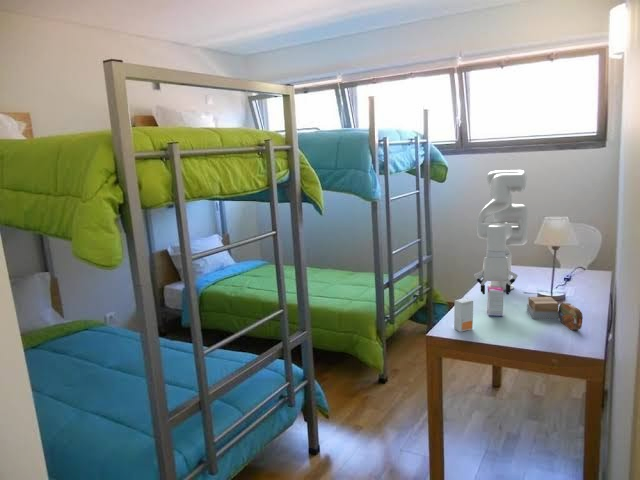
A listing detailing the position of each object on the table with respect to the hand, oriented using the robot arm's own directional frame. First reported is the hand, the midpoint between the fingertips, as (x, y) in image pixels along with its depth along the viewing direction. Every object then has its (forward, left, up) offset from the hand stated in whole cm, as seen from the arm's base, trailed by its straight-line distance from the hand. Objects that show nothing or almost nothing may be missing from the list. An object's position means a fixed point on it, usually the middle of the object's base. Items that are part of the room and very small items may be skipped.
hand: (495, 293), depth 204 cm
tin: (+12, +26, -10) cm, 30 cm away
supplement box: (-1, 0, -10) cm, 10 cm away
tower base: (-1, +19, -10) cm, 22 cm away
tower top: (-1, +19, -6) cm, 20 cm away
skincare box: (+17, -15, -10) cm, 25 cm away
